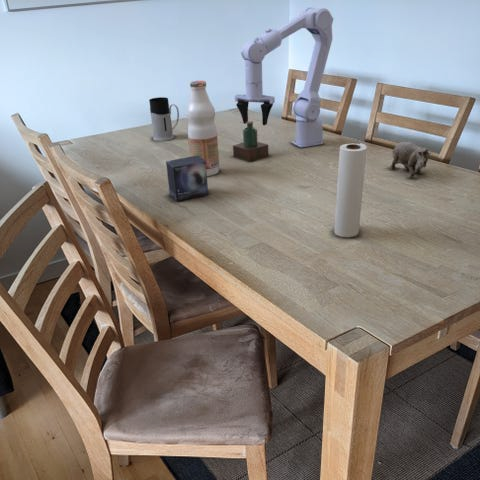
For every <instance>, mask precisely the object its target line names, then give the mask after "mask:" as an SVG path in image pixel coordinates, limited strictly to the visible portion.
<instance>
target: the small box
mask: <svg viewBox="0 0 480 480" xmlns="http://www.w3.org/2000/svg"><path fill="white" fill-rule="evenodd" d="M165 165H166V174H167V182H168V193H169V194H168V195H169V196H170V197H171V198H173V199H174V200H175V201H176V202H179V201H180V202H181V201H183V200H189V199H194V198H198V197H202V196H207V195H209V187H208V186H209V185H208V176H207V170H206V161H205V160H204V159H202V158H201V157H199V156H198V155H197V156H192V157H190V156H186V157H182V158H176V159H172V160H171V159H170V160H167V161H165Z"/></svg>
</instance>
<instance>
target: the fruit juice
mask: <svg viewBox="0 0 480 480" xmlns="http://www.w3.org/2000/svg"><path fill="white" fill-rule="evenodd" d="M189 86H190V89H191V92H190V97H189V101H188V105H187V107H186V110H185V111H186V112H185V113H186V114H185V115H186V118H187V121H188V125H187V138H188V146H189V157H192V156H197V155H198V156H199V157H201V158H202V159H204V160H205V161H206V170H207V177H210V176H215V175H217V174H218V173H219V172H220V158H219V157H220V155H219V142H218V129H217V124H216V122H215V117H216V110H215V109H216V108H215V107H214V105H213V103H212V101H211V99H210V97H209V94H208V92H207V89H206V88H207V82H206V81H205V80H193V81H190V83H189Z"/></svg>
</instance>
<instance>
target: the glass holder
mask: <svg viewBox="0 0 480 480" xmlns="http://www.w3.org/2000/svg"><path fill="white" fill-rule="evenodd" d="M148 102H149V112H150V118H151V120H150V121H151V126H152V134H153V137H152V140H153V141H155V142H166V141H171V140H173V139H174V138H175V136H174V134H173V130H174V129H175V128H176V126H177V125H178V123H179V119H180V112H179V108H178V105H176V104H174V103H172V104H170V103H169V98H168V97H165V96H164V97H163V96H161V97H160V96H159V97H152V98H149V100H148ZM172 106H173V107H175V109H176V115H177V116H176V122H175V124H174V125H173V126H172V117H171V115H172Z"/></svg>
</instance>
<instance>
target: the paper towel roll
mask: <svg viewBox="0 0 480 480" xmlns="http://www.w3.org/2000/svg"><path fill="white" fill-rule="evenodd" d="M367 149H368V148H367V145H366V144H364V143H363V142H360V143H345V144H342V145H340V146H339V157H338V171H337V183H336V184H337V185H336V200H335V201H336V202H335V217H334V229H333V230H334V231H333V232H334V234H335V235H336V236H337V237H341V238H353V237H356V236H357V235H359V232H360V221H361V212H362V202H363V191H364V180H365V172H366V171H365V170H366V160H367Z"/></svg>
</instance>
